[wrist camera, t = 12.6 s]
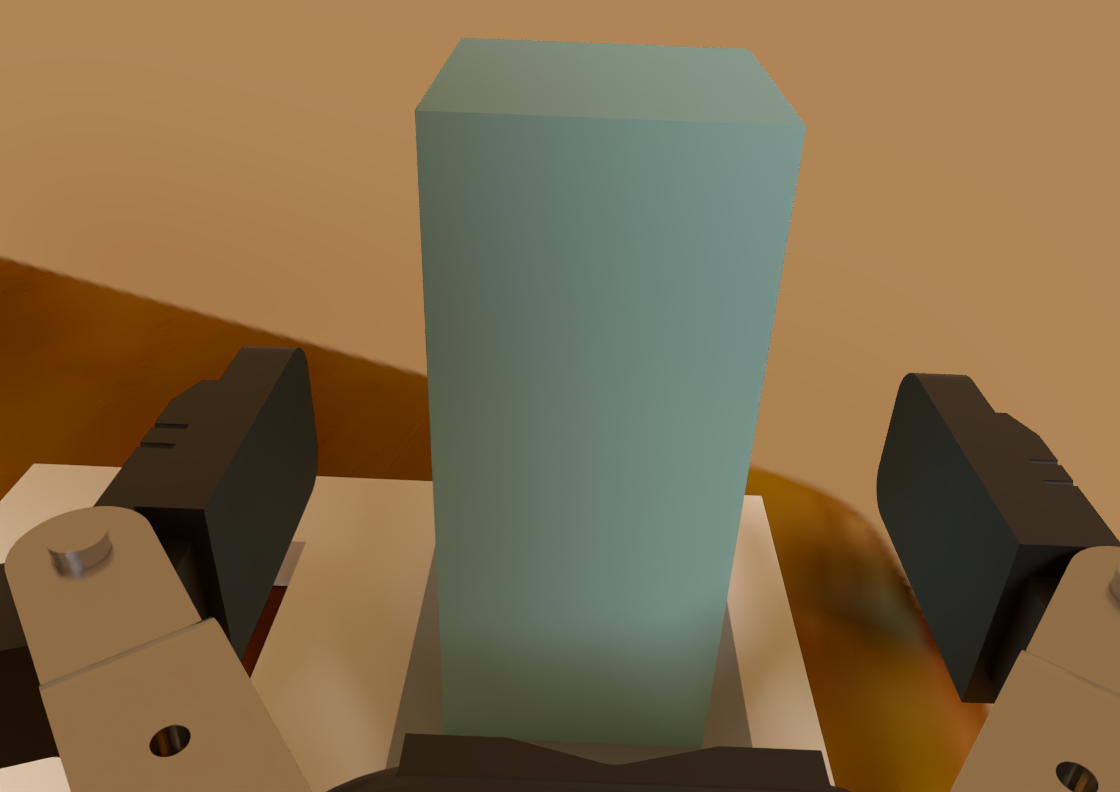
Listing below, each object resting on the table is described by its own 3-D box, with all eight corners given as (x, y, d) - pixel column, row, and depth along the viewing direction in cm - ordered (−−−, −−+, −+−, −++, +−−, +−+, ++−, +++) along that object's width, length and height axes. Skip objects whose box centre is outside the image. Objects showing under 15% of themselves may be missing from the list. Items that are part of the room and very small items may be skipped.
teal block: (444, 736, 18) (414, 110, 12) (472, 564, 22) (461, 37, 16) (702, 748, 18) (806, 126, 12) (680, 573, 22) (749, 49, 16)
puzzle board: (-408, 1064, 14) (-467, 1008, 14) (47, 506, 26) (32, 457, 26) (888, 1131, 14) (914, 1078, 13) (753, 538, 26) (762, 490, 25)
